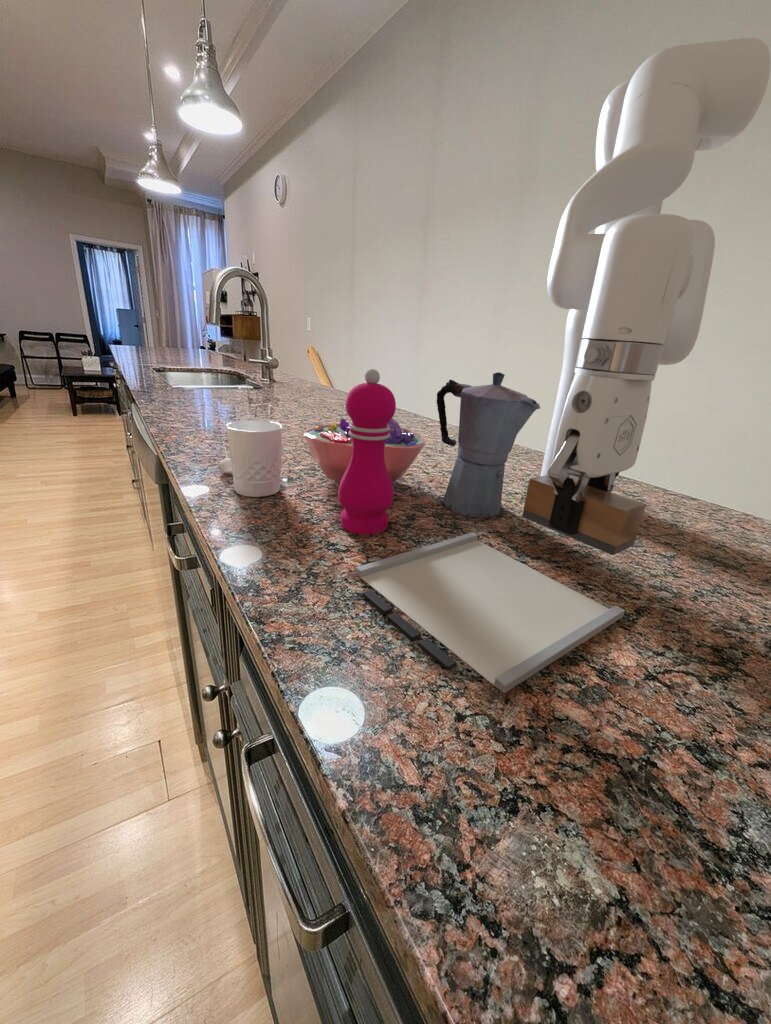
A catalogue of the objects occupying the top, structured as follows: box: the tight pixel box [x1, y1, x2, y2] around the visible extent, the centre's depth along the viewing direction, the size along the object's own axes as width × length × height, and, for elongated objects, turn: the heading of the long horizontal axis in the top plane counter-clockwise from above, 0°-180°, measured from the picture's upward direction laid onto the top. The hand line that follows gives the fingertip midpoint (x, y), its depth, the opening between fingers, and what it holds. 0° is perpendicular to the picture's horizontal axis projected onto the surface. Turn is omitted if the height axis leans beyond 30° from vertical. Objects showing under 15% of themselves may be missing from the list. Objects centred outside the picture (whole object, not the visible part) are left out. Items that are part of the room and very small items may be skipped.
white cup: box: [225, 419, 283, 498], centre depth 67 cm, size 8×8×10 cm
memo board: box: [355, 532, 626, 694], centre depth 45 cm, size 18×20×1 cm
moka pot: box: [436, 371, 541, 518], centre depth 64 cm, size 10×15×20 cm, turn 58°
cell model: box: [302, 417, 427, 483], centre depth 74 cm, size 17×20×11 cm
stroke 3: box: [417, 637, 458, 671], centre depth 36 cm, size 4×1×1 cm, turn 38°
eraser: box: [521, 475, 647, 556], centre depth 51 cm, size 4×12×5 cm, turn 37°
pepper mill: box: [337, 368, 397, 535], centre depth 55 cm, size 7×7×20 cm
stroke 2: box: [386, 612, 422, 642], centre depth 39 cm, size 4×1×1 cm, turn 37°
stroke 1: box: [362, 589, 394, 615], centre depth 42 cm, size 4×1×1 cm, turn 37°
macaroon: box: [217, 457, 233, 475], centre depth 74 cm, size 4×5×2 cm
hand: (575, 524), depth 52 cm, fingers closed on eraser, 4 cm apart
